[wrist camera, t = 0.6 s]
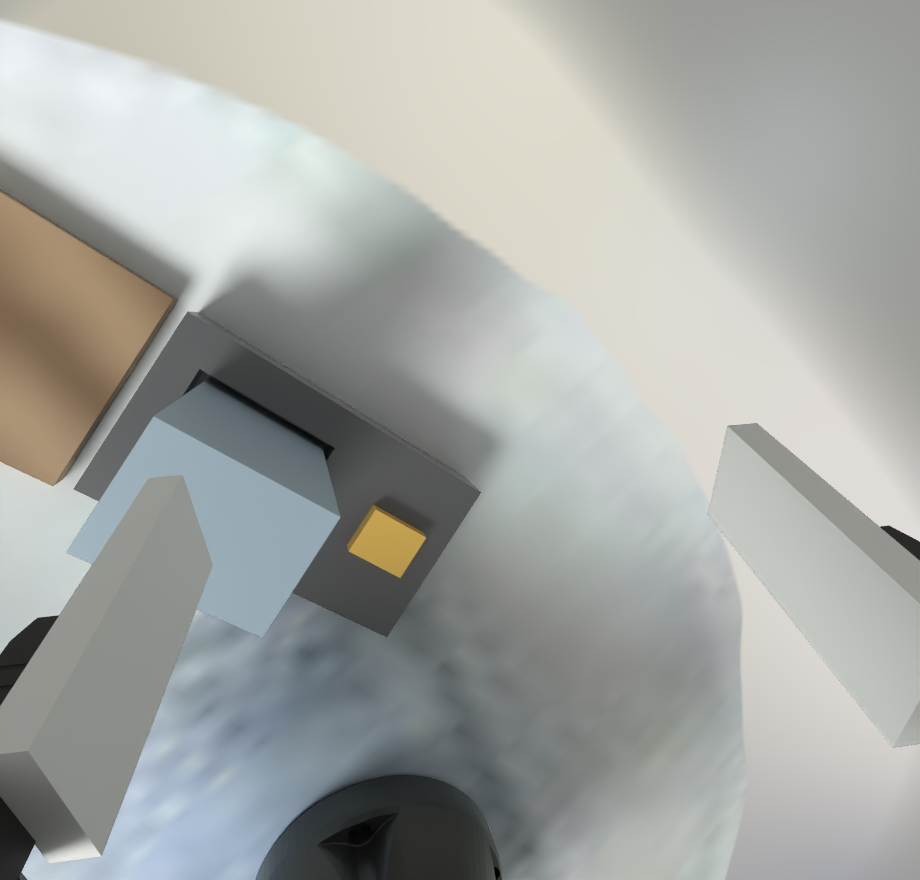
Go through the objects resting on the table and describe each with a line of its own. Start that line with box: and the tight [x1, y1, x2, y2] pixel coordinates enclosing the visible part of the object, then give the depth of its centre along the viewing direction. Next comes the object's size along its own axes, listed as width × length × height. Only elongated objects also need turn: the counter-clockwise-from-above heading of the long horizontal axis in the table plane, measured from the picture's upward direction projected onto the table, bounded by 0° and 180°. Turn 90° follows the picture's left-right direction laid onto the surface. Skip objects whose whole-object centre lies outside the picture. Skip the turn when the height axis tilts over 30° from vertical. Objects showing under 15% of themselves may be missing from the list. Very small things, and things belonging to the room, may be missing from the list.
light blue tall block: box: [66, 377, 340, 638], centre depth 23 cm, size 4×6×12 cm
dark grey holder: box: [74, 312, 481, 637], centre depth 28 cm, size 9×16×4 cm, turn 55°
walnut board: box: [0, 190, 178, 486], centre depth 25 cm, size 10×10×1 cm
